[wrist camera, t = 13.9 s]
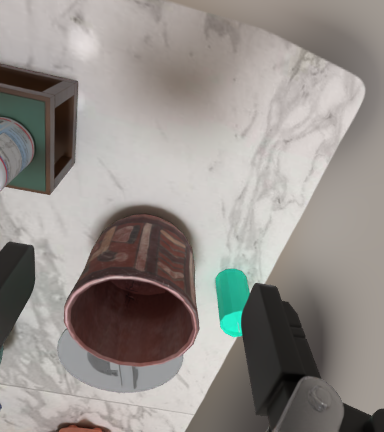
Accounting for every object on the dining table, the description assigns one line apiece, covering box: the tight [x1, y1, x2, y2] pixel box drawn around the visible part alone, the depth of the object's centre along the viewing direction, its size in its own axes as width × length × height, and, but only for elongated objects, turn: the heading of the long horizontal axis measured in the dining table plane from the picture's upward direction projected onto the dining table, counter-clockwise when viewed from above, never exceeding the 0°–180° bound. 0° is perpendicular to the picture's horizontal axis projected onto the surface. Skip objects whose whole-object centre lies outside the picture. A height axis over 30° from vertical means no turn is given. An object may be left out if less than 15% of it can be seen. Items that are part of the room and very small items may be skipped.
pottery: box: [64, 214, 199, 367], centre depth 50 cm, size 18×18×18 cm
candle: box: [216, 269, 250, 337], centre depth 58 cm, size 6×6×12 cm
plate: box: [57, 329, 183, 393], centre depth 74 cm, size 28×28×1 cm
